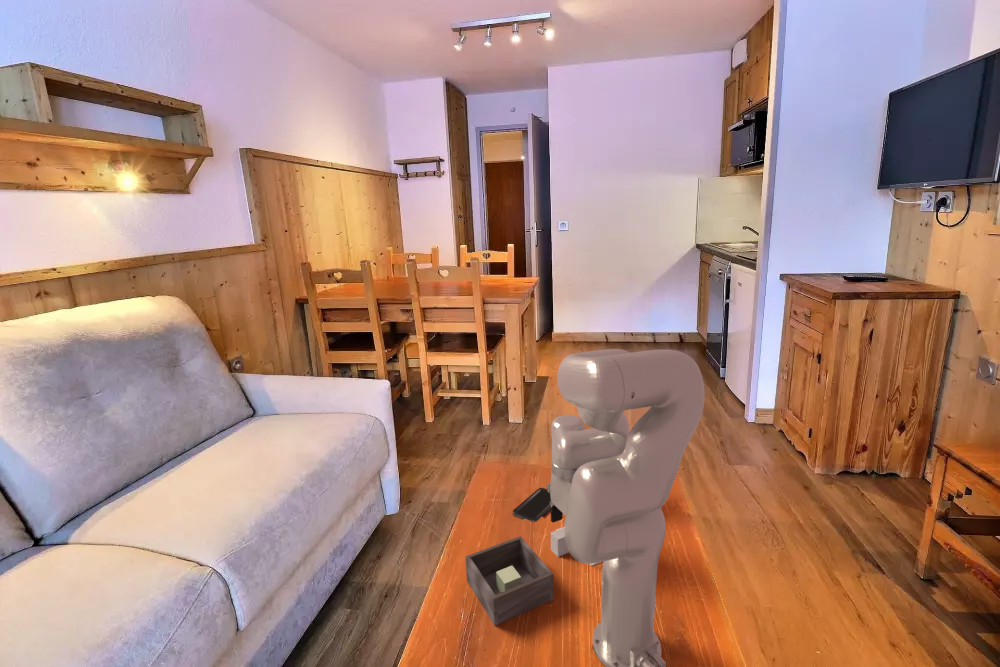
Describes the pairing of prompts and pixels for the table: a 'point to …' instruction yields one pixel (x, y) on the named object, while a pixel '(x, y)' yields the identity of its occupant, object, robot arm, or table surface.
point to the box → (519, 598)
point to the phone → (534, 506)
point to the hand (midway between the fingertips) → (568, 531)
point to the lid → (560, 543)
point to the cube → (507, 578)
